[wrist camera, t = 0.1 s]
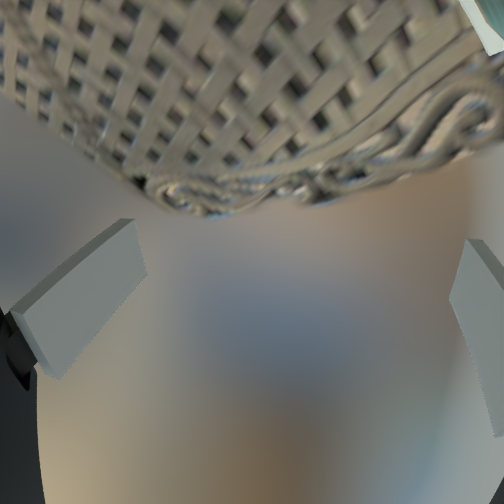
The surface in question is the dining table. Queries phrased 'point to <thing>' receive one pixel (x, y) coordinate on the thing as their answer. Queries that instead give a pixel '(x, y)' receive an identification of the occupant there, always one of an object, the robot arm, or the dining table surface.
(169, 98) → the dining table surface
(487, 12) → the tan box
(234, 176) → the dining table surface
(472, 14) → the rubber mat
